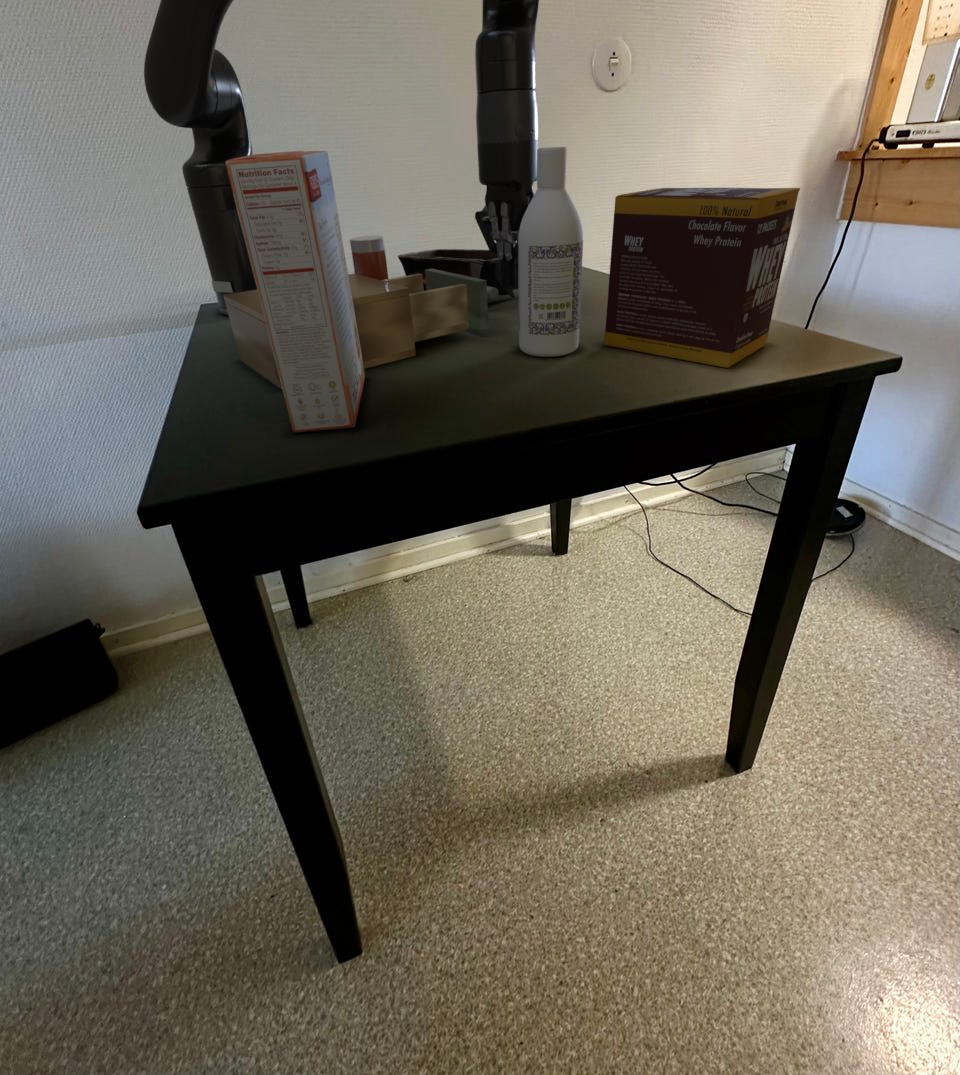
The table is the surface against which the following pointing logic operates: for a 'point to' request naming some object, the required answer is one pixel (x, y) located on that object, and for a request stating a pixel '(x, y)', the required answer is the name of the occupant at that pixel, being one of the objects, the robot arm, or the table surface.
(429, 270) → the drawer
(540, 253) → the bath foam
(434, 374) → the table surface
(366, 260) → the salt shaker
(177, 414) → the table surface
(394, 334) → the cabinet
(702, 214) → the supplement box
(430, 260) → the baking dish
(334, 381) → the cracker box
